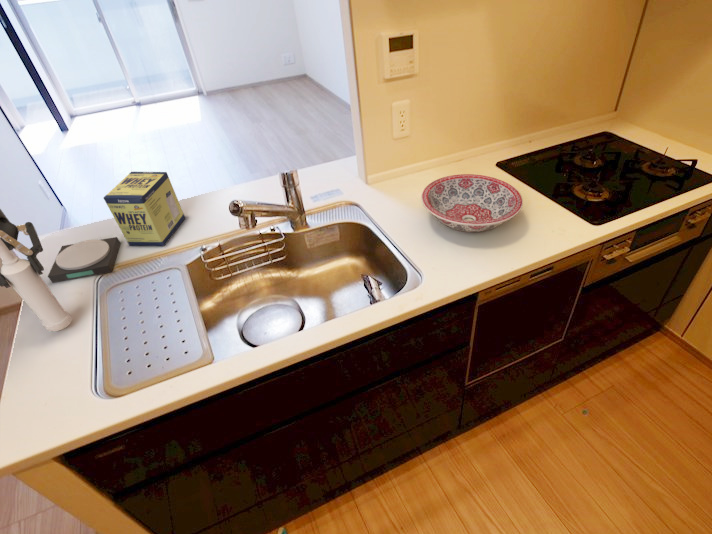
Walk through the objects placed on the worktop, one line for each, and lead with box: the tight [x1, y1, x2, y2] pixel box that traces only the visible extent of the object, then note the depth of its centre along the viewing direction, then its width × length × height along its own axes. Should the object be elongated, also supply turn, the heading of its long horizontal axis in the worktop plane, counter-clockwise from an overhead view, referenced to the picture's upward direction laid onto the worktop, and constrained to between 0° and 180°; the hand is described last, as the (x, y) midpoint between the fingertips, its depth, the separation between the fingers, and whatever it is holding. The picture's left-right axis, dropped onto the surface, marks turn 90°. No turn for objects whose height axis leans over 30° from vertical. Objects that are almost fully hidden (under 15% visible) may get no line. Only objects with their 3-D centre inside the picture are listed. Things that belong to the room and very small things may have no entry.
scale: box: [47, 236, 121, 284], centre depth 115 cm, size 14×14×3 cm
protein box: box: [103, 171, 186, 247], centre depth 121 cm, size 10×16×16 cm
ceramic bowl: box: [421, 173, 524, 233], centre depth 126 cm, size 29×29×8 cm
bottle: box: [0, 239, 72, 332], centre depth 89 cm, size 5×5×25 cm
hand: (24, 279), depth 87 cm, fingers closed on bottle, 5 cm apart
